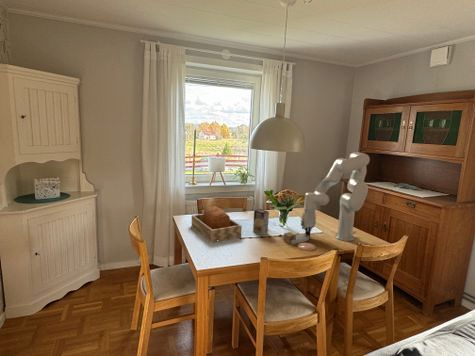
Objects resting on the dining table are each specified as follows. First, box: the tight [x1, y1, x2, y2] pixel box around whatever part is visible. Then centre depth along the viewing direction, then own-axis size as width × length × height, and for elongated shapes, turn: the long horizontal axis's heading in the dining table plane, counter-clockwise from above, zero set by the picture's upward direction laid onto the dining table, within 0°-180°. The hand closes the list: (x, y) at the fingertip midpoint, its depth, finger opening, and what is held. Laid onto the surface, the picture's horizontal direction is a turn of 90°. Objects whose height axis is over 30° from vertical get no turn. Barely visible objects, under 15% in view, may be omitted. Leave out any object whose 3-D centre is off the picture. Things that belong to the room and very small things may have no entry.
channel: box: [282, 232, 309, 245], centre depth 189 cm, size 14×9×2 cm, turn 121°
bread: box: [202, 205, 231, 230], centre depth 202 cm, size 14×26×16 cm, turn 24°
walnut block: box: [283, 231, 296, 245], centre depth 186 cm, size 6×6×6 cm
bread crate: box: [191, 213, 243, 243], centre depth 200 cm, size 22×34×8 cm, turn 31°
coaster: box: [297, 242, 316, 252], centre depth 179 cm, size 11×11×1 cm
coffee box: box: [252, 208, 270, 236], centre depth 200 cm, size 9×6×16 cm
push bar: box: [296, 232, 311, 241], centre depth 190 cm, size 12×5×3 cm, turn 121°
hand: (307, 236), depth 195 cm, fingers closed
